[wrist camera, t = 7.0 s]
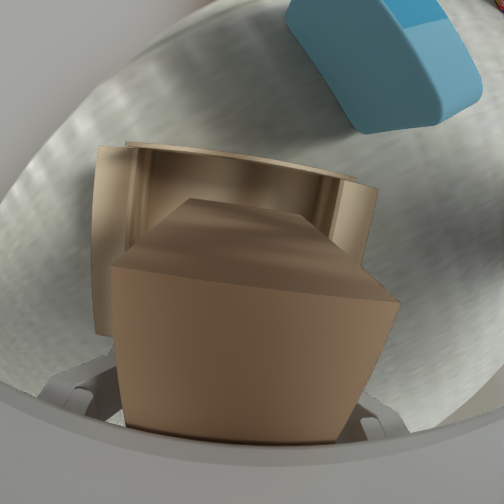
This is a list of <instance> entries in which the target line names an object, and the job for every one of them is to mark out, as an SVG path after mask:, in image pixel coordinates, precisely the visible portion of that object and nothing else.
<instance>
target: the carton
mask: <svg viewBox="0 0 504 504" xmlns="http://www.w3.org/2000/svg"><path fill="white" fill-rule="evenodd" d="M125 146H129V147H134V148H127V147H110V146H98V151H97V159H96V168H95V178H94V190H93V205H92V228H91V272H92V295H93V310H94V321H95V331H96V334H99V335H103V336H108V337H112V338H114V335H113V321H112V300H111V265H112V264H113V263H114V262H115V261H116V260H117V259H119V258H120V257H121V256H122V255H123V254H124V253H125V252H126V251H127V250H129V249H130V248H131V247H132V246H133V245H134V244H135V243H136V242H138V241H139V240H140V239H141V238H142V237H143V236H144V235H146V234H147V233H148V232H149V231H150V230H151V229H153V228H154V227H155V226H156V225H157V224H158V223H160V222H161V221H162V220H163V219H164V218H166V217H167V216H168V215H169V214H170V213H172V212H173V211H174V210H175V209H177V208H178V207H179V206H180V205H181V204H183V203H184V202H185V201H186V200H188V199H189V198H195V199H203V200H210V201H217V202H224V203H231V204H237V205H244V206H250V207H257V208H263V209H269V210H275V211H281V212H287V213H293V214H299V215H301V216H302V217H304V218H305V219H306V220H307V221H308V222H310V223H311V224H312V225H313V226H314V227H316V228H317V229H318V230H319V231H320V232H322V233H323V234H324V235H325V236H326V237H328V238H329V239H330V240H331V241H332V242H333V243H335V244H336V245H337V246H338V247H339V248H340V249H342V250H343V251H344V252H345V253H346V254H347V255H348V256H350V257H351V258H352V259H353V260H354V261H355V262H356V263H358V264H359V265H361V262H362V258H363V254H364V250H365V246H366V242H367V238H368V234H369V230H370V226H371V221H372V217H373V213H374V208H375V203H376V198H377V194H378V189H377V188H373V187H370V186H366V185H362V184H358V183H354V182H349V181H355V182H356V179H357V178H356V177H352V176H348V175H344V174H340V173H336V172H331V171H327V170H322V169H318V168H313V167H309V166H304V165H299V164H294V163H289V162H284V161H278V160H273V159H267V158H262V157H256V156H250V155H243V154H237V153H230V152H223V151H216V150H208V149H200V148H192V147H183V146H173V145H163V144H151V143H138V142H125ZM345 180H349V181H345Z"/></svg>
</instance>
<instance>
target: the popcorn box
mask: <svg viewBox="0 0 504 504" xmlns="http://www.w3.org/2000/svg"><path fill="white" fill-rule="evenodd" d="M496 2H497V4H498V6H499V9H500V10H501V11H502V12H504V0H496Z"/></svg>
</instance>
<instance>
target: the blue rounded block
mask: <svg viewBox="0 0 504 504" xmlns="http://www.w3.org/2000/svg"><path fill="white" fill-rule="evenodd" d="M286 22H287V25H288V27H289V29H290V31H291V33H292V34H293V35H294V37H295V38H296V39H297V41H298V42H299V43H300V45H301V46H302V48H303V49H304V50H305V52H306V53H307V55H308V56H309V57H310V59H311V60H312V62H313V63H314V65H315V66H316V68H317V69H318V71H319V72H320V74H321V75H322V77H323V78H324V80H325V81H326V83H327V85H328V86H329V88H330V89H331V91H332V93H333V94H334V96H335V97H336V99H337V101H338V102H339V104H340V106H341V107H342V109H343V111H344V113H345V114H346V116H347V118H348V119H349V121H350V123H351V124H352V125H353V127H354V128H355V129H356V130H358V131H359V132H360V133H362V134H372V133H379V132H386V131H393V130H400V129H408V128H416V127H425V126H434V125H437V124H439V123H441V122H443V121H445V120H446V119H448V118H450V117H452V116H453V115H455V114H457V113H459V112H460V111H462V110H464V109H466V108H467V107H469V106H471V105H473V104H474V103H476V102H477V101H479V99H480V98H481V96H482V92H483V85H482V80H481V77H480V74H479V72H478V70H477V68H476V66H475V64H474V62H473V60H472V58H471V56H470V54H469V52H468V50H467V48H466V47H465V45H464V43H463V41H462V40H461V38H460V36H459V34H458V33H457V31H456V29H455V28H454V26H453V24H452V23H451V21H450V20H449V18H448V17H447V15H446V14H445V12H444V11H443V9H442V8H441V6H440V5H439V3H438V2H437V1H436V0H291V2H290V5H289V7H288V9H287V12H286Z"/></svg>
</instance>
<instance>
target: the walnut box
mask: <svg viewBox="0 0 504 504" xmlns="http://www.w3.org/2000/svg"><path fill="white" fill-rule="evenodd" d="M111 300H112V321H113V335H114V347H115V357H116V366H117V374H118V382H119V389H120V396H121V402H122V408H123V414H124V419H125V424H126V427H127V428H132V429H136V430H140V431H145V432H150V433H155V434H160V435H165V436H171V437H177V438H183V439H190V440H198V441H206V442H215V443H226V444H239V445H258V446H309V445H328V444H334V443H335V441H336V439H337V438H338V436H339V434H340V433H341V431H342V429H343V427H344V426H345V424H346V422H347V420H348V419H349V417H350V415H351V413H352V411H353V409H354V408H355V406H356V404H357V402H358V400H359V398H360V396H361V394H362V392H363V390H364V388H365V386H366V384H367V382H368V380H369V378H370V376H371V373H372V371H373V369H374V367H375V365H376V363H377V360H378V358H379V356H380V354H381V351H382V349H383V347H384V344H385V342H386V339H387V337H388V334H389V332H390V330H391V327H392V324H393V322H394V319H395V317H396V314H397V311H398V308H399V306H400V302H399V301H398V300H397V299H396V298H395V297H394V296H393V295H392V294H391V293H390V292H388V291H387V290H386V289H385V288H384V287H383V286H382V285H381V284H380V283H379V282H378V281H376V280H375V279H374V278H373V277H372V276H371V275H370V274H369V273H368V272H367V271H365V270H364V269H363V268H362V267H361V266H360V265H359V264H358V263H356V262H355V261H354V260H353V259H352V258H351V257H350V256H348V255H347V254H346V253H345V252H344V251H343V250H342V249H340V248H339V247H338V246H337V245H336V244H335V243H333V242H332V241H331V240H330V239H329V238H328V237H326V236H325V235H324V234H323V233H322V232H320V231H319V230H318V229H317V228H316V227H314V226H313V225H312V224H311V223H310V222H308V221H307V220H306V219H305V218H304V217H302V216H301V215H299V214H293V213H287V212H281V211H275V210H269V209H263V208H257V207H250V206H244V205H237V204H231V203H224V202H217V201H210V200H203V199H195V198H189V199H188V200H186V201H185V202H184V203H183V204H181V205H180V206H179V207H178V208H177V209H175V210H174V211H173V212H172V213H170V214H169V215H168V216H167V217H166V218H164V219H163V220H162V221H161V222H160V223H158V224H157V225H156V226H155V227H154V228H153V229H151V230H150V231H149V232H148V233H147V234H146V235H144V236H143V237H142V238H141V239H140V240H139V241H138V242H136V243H135V244H134V245H133V246H132V247H131V248H130V249H129V250H127V251H126V252H125V253H124V254H123V255H122V256H121V257H120V258H119V259H117V260H116V261H115V262H114V263H113V264H112V265H111Z"/></svg>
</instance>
